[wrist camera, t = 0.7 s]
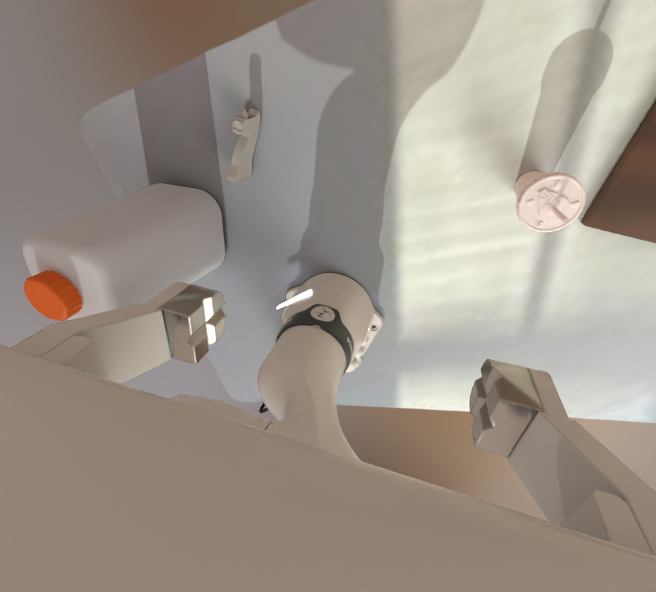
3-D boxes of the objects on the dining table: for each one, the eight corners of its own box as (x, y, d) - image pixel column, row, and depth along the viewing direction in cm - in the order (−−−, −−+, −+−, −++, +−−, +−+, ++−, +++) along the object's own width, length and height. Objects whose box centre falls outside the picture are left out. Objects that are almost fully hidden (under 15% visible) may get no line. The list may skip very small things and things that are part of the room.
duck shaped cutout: (244, 172, 54) (255, 105, 48) (251, 175, 54) (263, 108, 48) (225, 179, 49) (235, 106, 44) (233, 183, 49) (244, 110, 44)
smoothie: (519, 218, 46) (546, 258, 35) (493, 182, 45) (513, 211, 33) (568, 188, 43) (617, 221, 31) (542, 148, 42) (583, 167, 30)
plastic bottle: (147, 178, 60) (-37, 229, 36) (222, 190, 57) (74, 254, 33) (163, 255, 68) (20, 336, 44) (230, 269, 65) (114, 364, 41)
